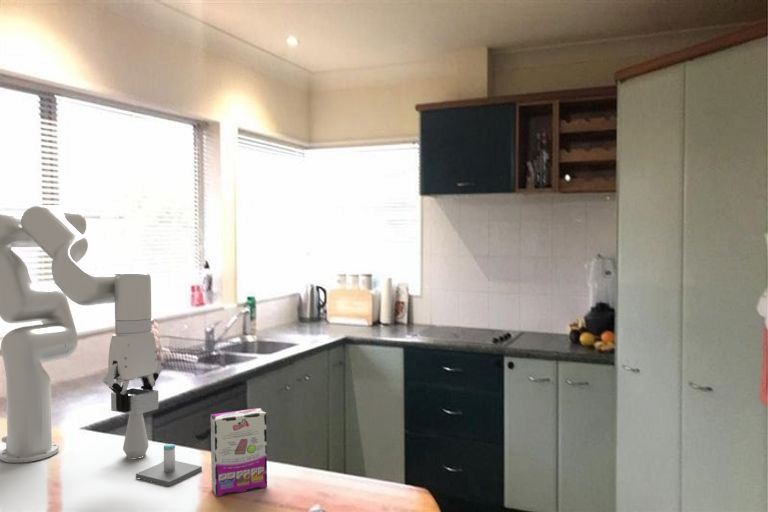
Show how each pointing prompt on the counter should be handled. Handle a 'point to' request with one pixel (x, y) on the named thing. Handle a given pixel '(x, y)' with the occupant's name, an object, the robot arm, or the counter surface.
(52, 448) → the robot arm
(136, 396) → the link
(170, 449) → the wall peg plate
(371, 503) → the counter surface
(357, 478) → the counter surface
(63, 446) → the counter surface
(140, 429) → the salt shaker
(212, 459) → the candy bar box
